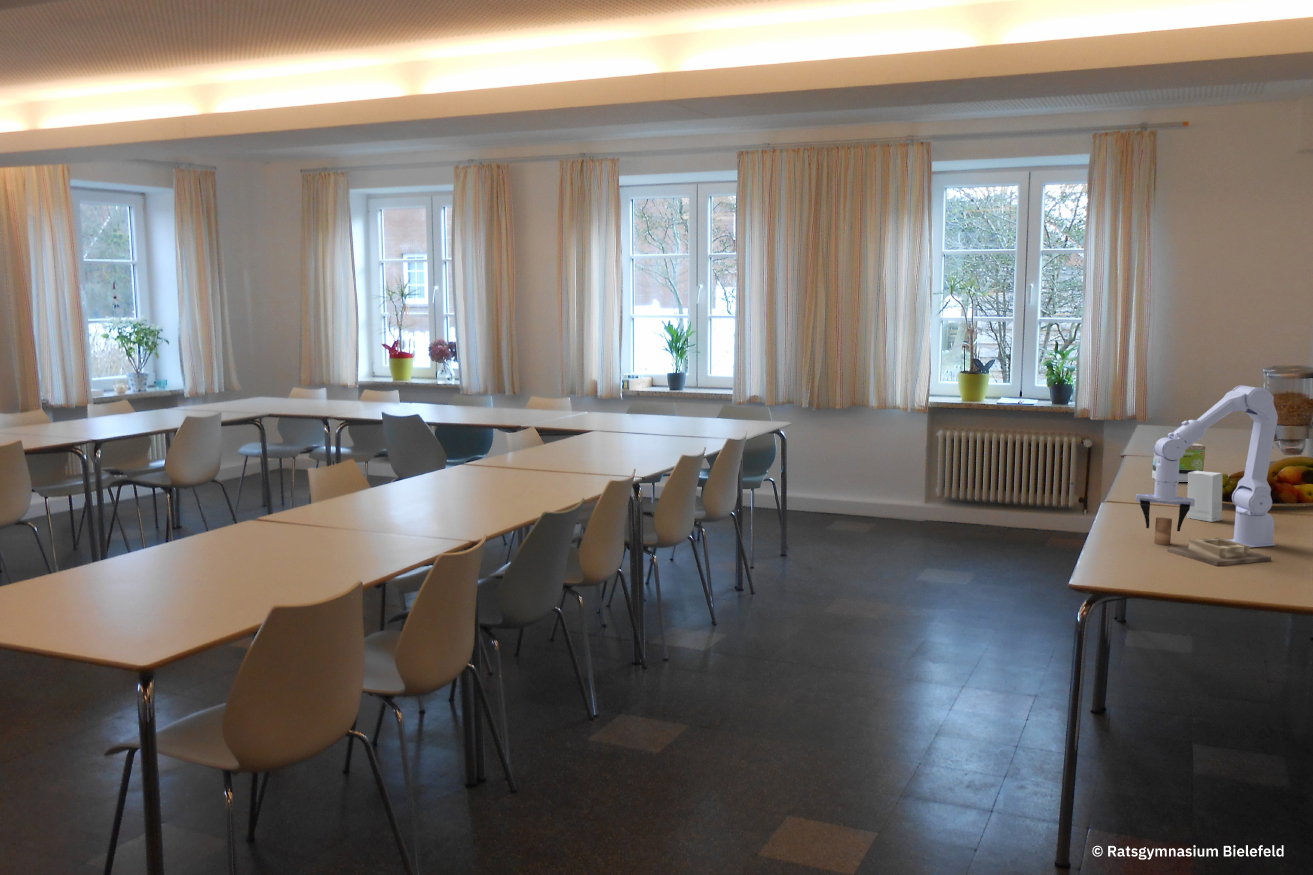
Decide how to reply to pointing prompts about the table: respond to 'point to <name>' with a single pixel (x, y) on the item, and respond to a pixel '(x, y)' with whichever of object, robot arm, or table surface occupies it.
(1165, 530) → the peg
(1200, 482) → the skincare box
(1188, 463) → the tea box
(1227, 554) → the socket
